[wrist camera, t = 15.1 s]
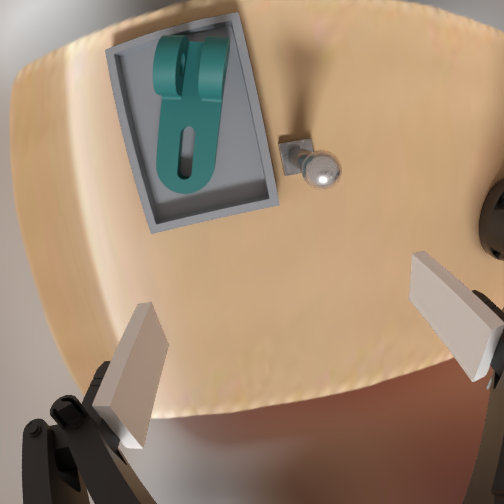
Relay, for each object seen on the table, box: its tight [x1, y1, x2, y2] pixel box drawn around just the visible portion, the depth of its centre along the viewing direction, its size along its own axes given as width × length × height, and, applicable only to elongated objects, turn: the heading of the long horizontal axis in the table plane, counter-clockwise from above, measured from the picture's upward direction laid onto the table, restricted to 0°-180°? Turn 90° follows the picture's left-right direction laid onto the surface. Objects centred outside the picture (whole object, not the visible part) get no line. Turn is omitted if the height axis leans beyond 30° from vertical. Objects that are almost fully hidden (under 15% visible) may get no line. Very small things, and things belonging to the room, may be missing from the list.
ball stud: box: [278, 138, 342, 190], centre depth 31 cm, size 4×4×13 cm
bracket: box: [153, 35, 230, 194], centre depth 30 cm, size 18×7×8 cm, turn 173°
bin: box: [105, 12, 279, 234], centre depth 33 cm, size 16×24×2 cm, turn 11°
